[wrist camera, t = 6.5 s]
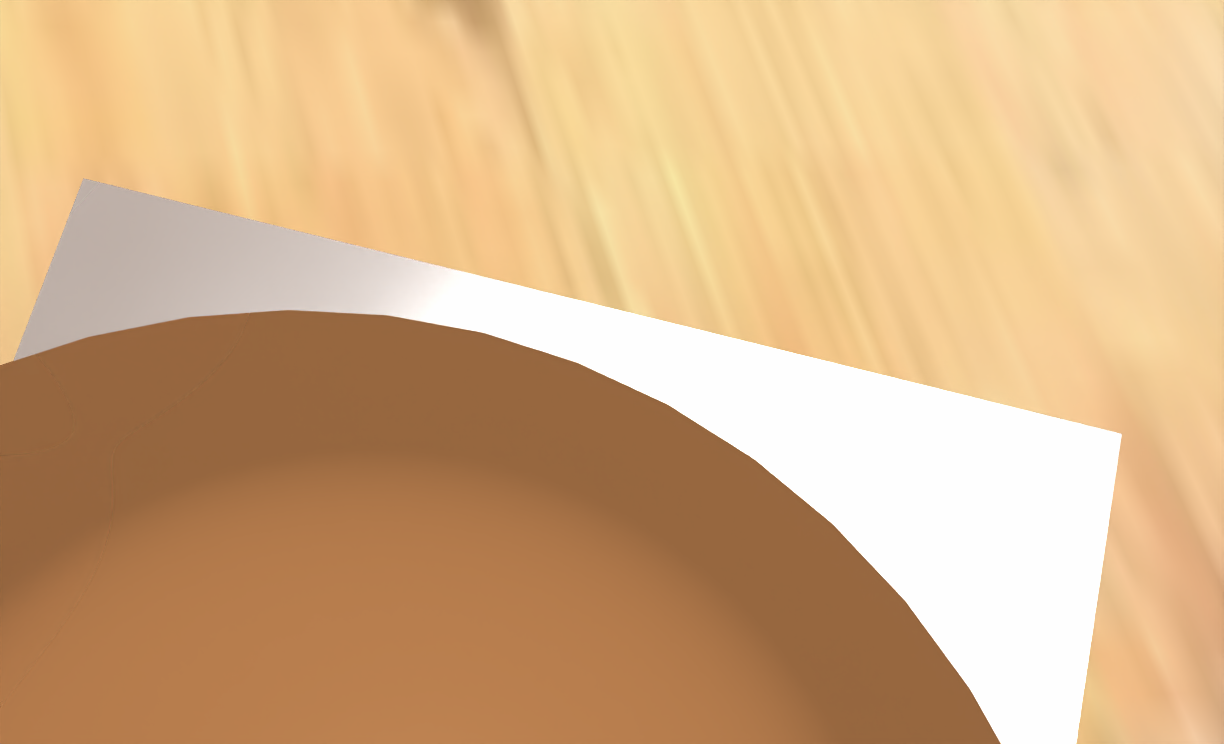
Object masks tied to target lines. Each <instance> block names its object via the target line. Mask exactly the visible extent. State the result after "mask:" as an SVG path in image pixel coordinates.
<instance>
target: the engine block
mask: <svg viewBox="0 0 1224 744" xmlns="http://www.w3.org/2000/svg"><path fill="white" fill-rule="evenodd" d="M1121 435H1122V434H1120V433H1115V432H1111V431H1107V430H1103V429H1099V428H1095V427H1091V426H1087V425H1083V424H1079V423H1075V422H1071V421H1067V420H1063V419H1059V418H1055V417H1050V416H1046V415H1042V414H1038V413H1034V412H1030V411H1026V410H1022V409H1018V408H1014V407H1010V406H1006V405H1002V404H998V403H994V402H990V401H986V400H981V399H977V398H973V397H969V396H965V395H961V394H957V393H953V392H949V391H945V390H941V389H937V388H933V387H929V386H925V385H921V384H916V383H912V382H908V381H904V380H900V379H896V378H892V377H888V376H884V375H880V374H876V373H872V372H868V371H864V370H860V369H856V368H852V367H847V366H843V365H839V364H835V363H831V362H827V361H823V360H819V359H815V358H811V357H807V356H803V355H799V354H795V353H791V352H787V351H782V350H778V349H774V348H770V347H766V346H762V345H758V344H754V343H750V342H746V341H742V340H738V339H734V338H730V337H726V336H722V335H717V334H713V333H709V332H705V331H701V330H697V329H693V328H689V327H685V326H681V325H677V324H673V323H669V322H665V321H661V320H657V319H653V318H648V317H644V316H640V315H636V314H632V313H628V312H624V311H620V310H616V309H612V308H608V307H604V306H600V305H596V304H592V303H588V302H583V301H579V300H575V299H571V298H567V297H563V296H559V295H555V294H551V293H547V292H543V291H539V290H535V289H531V288H527V287H523V286H518V285H514V284H510V283H506V282H502V281H498V280H494V279H490V278H486V277H482V276H478V275H474V274H470V273H466V272H462V271H458V270H454V269H449V268H445V267H441V266H437V265H433V264H429V263H425V262H421V261H417V260H413V259H409V258H405V257H401V256H397V255H393V254H389V253H384V252H380V251H376V250H372V249H368V248H364V247H360V246H356V245H352V244H348V243H344V242H340V241H336V240H332V239H328V238H324V237H319V236H315V235H311V234H307V233H303V232H299V231H295V230H291V229H287V228H283V227H279V226H275V225H271V224H267V223H263V222H259V221H255V220H250V219H246V218H242V217H238V216H234V215H230V214H226V213H222V212H218V211H214V210H210V209H206V208H202V207H198V206H194V205H190V204H185V203H181V202H177V201H173V200H169V199H165V198H161V197H157V196H153V195H149V194H145V193H141V192H137V191H133V190H129V189H125V188H120V187H116V186H112V185H108V184H104V183H100V182H96V181H92V180H88V179H83V181H82V184H81V186H80V189H79V192H78V194H77V197H76V199H75V202H74V205H73V207H72V210H71V212H70V215H69V218H68V220H67V223H66V225H65V228H64V231H63V233H62V236H61V238H60V241H59V244H58V246H57V249H56V251H55V254H54V257H53V259H52V262H51V264H50V267H49V270H48V272H47V275H46V277H45V280H44V283H43V285H42V288H41V290H40V293H39V296H38V298H37V301H36V303H35V306H34V309H33V311H32V314H31V316H30V319H29V322H28V324H27V327H26V330H25V332H24V335H23V337H22V340H21V343H20V345H19V348H18V350H17V353H16V356H15V358H14V361H12V362H9V363H6V364H3V365H0V744H1076V740H1077V733H1078V726H1079V719H1080V713H1081V706H1082V699H1083V692H1084V685H1085V679H1086V672H1087V665H1088V658H1089V652H1090V645H1091V638H1092V631H1093V624H1094V618H1095V611H1096V604H1097V597H1098V591H1099V584H1100V577H1101V570H1102V563H1103V557H1104V550H1105V543H1106V536H1107V530H1108V523H1109V516H1110V509H1111V502H1112V496H1113V489H1114V482H1115V475H1116V469H1117V462H1118V455H1119V448H1120V441H1121Z"/></svg>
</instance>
